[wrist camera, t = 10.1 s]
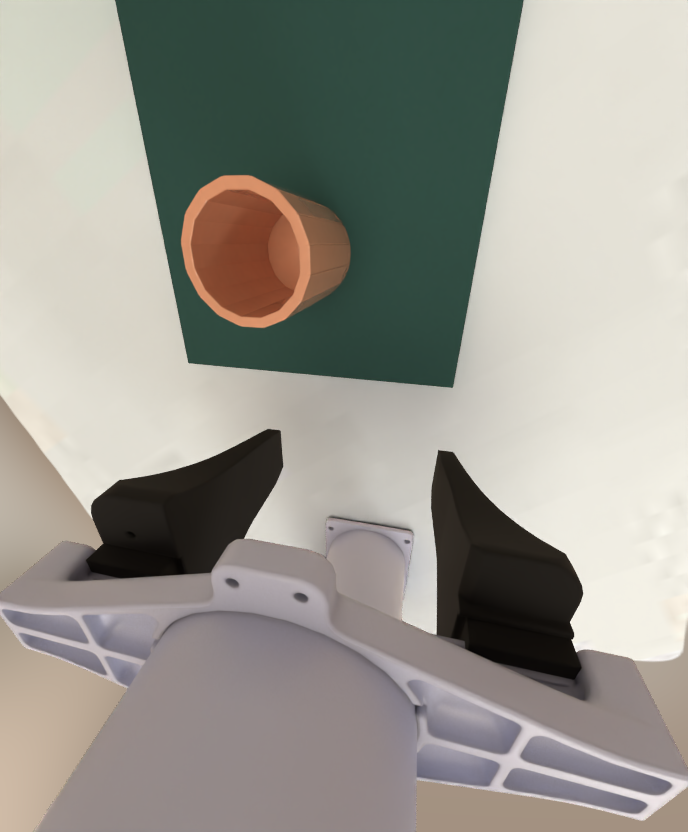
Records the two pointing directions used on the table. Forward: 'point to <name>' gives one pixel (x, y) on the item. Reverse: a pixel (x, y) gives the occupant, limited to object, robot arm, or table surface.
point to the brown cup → (261, 250)
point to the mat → (333, 160)
